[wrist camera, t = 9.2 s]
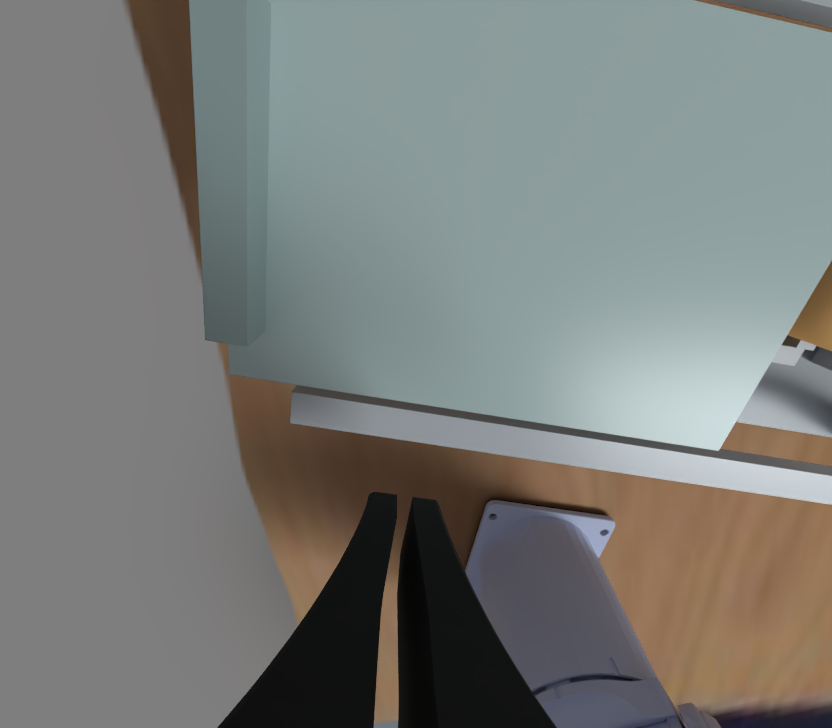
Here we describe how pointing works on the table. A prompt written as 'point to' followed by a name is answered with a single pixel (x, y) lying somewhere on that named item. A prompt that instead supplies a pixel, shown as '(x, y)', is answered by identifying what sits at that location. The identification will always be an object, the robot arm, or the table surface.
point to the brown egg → (817, 315)
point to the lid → (513, 202)
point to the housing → (768, 406)
